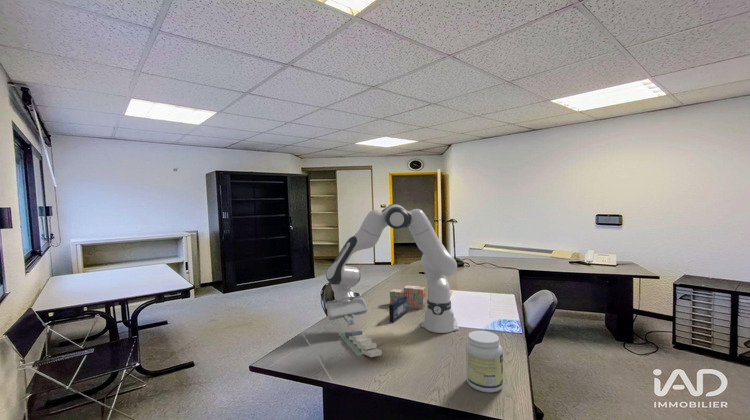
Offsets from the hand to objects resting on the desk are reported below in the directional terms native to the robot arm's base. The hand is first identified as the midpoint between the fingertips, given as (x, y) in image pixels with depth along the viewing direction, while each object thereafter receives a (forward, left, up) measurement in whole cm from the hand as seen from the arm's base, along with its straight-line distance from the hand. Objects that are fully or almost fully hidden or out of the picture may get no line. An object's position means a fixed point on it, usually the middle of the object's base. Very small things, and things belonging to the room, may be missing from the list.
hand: (351, 324), depth 153 cm
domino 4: (+9, +9, -5) cm, 14 cm away
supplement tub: (+23, +61, -7) cm, 65 cm away
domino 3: (+6, +6, -5) cm, 10 cm away
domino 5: (+13, +13, -5) cm, 19 cm away
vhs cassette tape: (-32, +15, -7) cm, 36 cm away
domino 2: (+2, +2, -5) cm, 6 cm away
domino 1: (-1, -1, -5) cm, 5 cm away
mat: (+5, +5, -6) cm, 9 cm away
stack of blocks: (-53, +15, -7) cm, 55 cm away
